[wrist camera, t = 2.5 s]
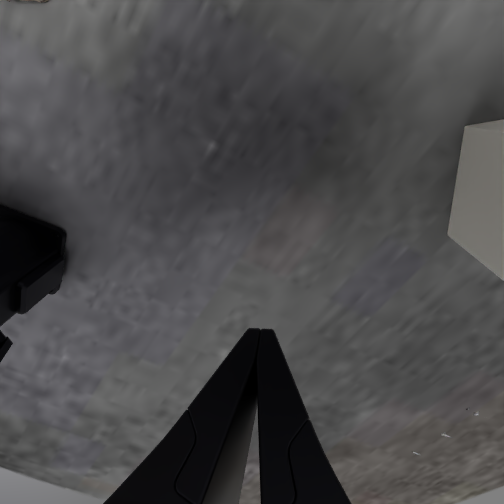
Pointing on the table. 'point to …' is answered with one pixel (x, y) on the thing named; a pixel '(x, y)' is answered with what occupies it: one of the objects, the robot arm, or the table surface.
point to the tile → (480, 195)
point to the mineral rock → (33, 0)
